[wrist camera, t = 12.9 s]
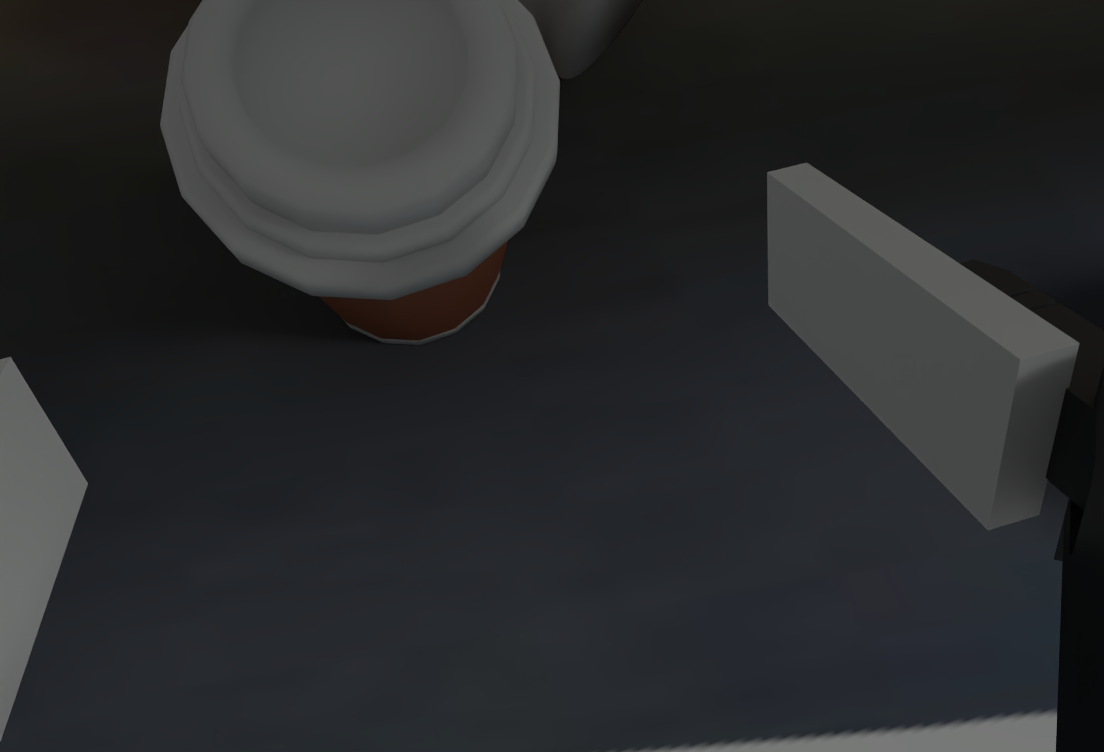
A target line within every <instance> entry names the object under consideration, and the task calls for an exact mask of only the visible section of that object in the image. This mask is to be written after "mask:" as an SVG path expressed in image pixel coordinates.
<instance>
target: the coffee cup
mask: <svg viewBox="0 0 1104 752" xmlns="http://www.w3.org/2000/svg"><path fill="white" fill-rule="evenodd" d="M559 95H560V80H559V78H558V75H557V73H556V71H555V68H554V66H553V63H552V61H551V58H550V56H549V53H548V51H547V48H546V46H545V43H544V41H543V38H542V36H541V33H540V31H539V28H538V26H537V23H536V21H535V18H534V17H533V15H532V14H531V13H530V12H529V11H528V10H527V9H526V8H525V7H524V6H523V5H522V4H521V3H520V2H519V1H518V0H202V1H201V3H200V5H199V6H198V8H197V9H196V11H195V12H194V14H193V16H192V17H191V19H190V20H189V24H188V26H187V27H186V29H185V30H184V32H183V33H182V35H181V37H180V38H179V40H178V41H177V43H176V44H175V46H174V48H173V49H172V51H171V54H170V61H169V68H168V74H167V81H166V88H165V95H164V102H163V109H162V115H161V122H160V127H161V131H162V134H163V137H164V140H165V144H166V147H167V150H168V153H169V157H170V160H171V163H172V167H173V170H174V173H175V176H176V180H177V183H178V186H179V189H180V193H181V196H182V197H183V198H184V200H185V201H186V202H187V203H188V204H189V205H190V206H191V208H192V209H193V210H194V211H195V212H196V213H197V214H198V215H199V216H200V218H201V219H202V220H203V221H204V222H205V223H206V224H207V225H208V227H209V228H210V229H211V230H212V231H213V232H214V233H215V234H216V235H217V237H218V238H219V239H220V240H221V241H222V242H223V243H224V244H225V246H226V247H227V248H228V249H229V250H230V251H231V252H232V253H233V254H234V256H235V257H236V258H237V259H238V260H239V261H240V262H241V263H242V264H245V265H247V266H249V267H251V268H253V269H255V270H257V271H260V272H262V273H264V274H266V275H268V276H270V277H272V278H275V279H277V280H279V281H281V282H283V283H285V284H287V285H290V286H292V287H294V288H296V289H298V290H300V291H302V292H305V293H307V294H309V295H311V296H318V297H319V298H320V299H322V300H323V301H324V302H325V303H326V304H327V305H328V306H329V307H330V308H331V309H332V310H334V311H335V312H336V313H337V314H338V315H339V316H340V317H341V318H342V319H343V320H344V322H345V323H346V324H347V325H348V326H349V327H350V328H352V329H354V330H356V331H358V332H360V333H363V334H365V335H367V336H369V337H371V338H373V339H375V340H378V341H380V342H382V343H388V344H407V345H423V344H426V343H429V342H432V341H435V340H438V339H441V338H444V337H447V336H450V335H453V334H456V333H457V332H459V331H460V330H461V329H462V328H463V327H464V326H466V325H467V324H468V323H469V322H470V321H471V320H473V319H474V318H475V317H476V316H477V315H478V314H480V313H481V312H482V311H483V310H484V309H485V307H486V305H487V303H488V301H489V299H490V297H491V295H492V293H493V291H494V289H495V287H496V285H497V283H498V281H499V279H500V270H501V266H502V262H503V258H504V255H505V251H506V247H507V243H508V240H509V239H510V238H511V237H513V236H514V235H515V234H516V233H517V232H519V231H520V230H521V229H522V228H523V227H524V225H525V223H526V221H527V219H528V217H529V215H530V213H531V211H532V209H533V207H534V205H535V203H536V201H537V199H538V197H539V195H540V193H541V191H542V189H543V188H544V186H545V184H546V182H547V180H548V178H549V176H550V174H551V172H552V170H553V168H554V166H555V163H556V156H557V144H558V119H559Z"/></svg>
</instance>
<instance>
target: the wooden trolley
mask: <svg viewBox="0 0 1104 752" xmlns="http://www.w3.org/2000/svg"><path fill="white" fill-rule="evenodd" d="M518 1H519V2H520V3H521V4H522V5H523V6H524V7H525V8H526V9H527V10H528V11H529V12H530V13H531V14H532V15H533V17H534V18H535V21H536V23H537V26H538V28H539V31H540V33H541V36H542V38H543V41H544V43H545V46H546V48H547V51H548V53H549V56H550V58H551V61H552V63H553V66H554V68H555V71H556V73H557V75H558V76H559V77H561V78H563V79H571V78H574V77H576V76H578V75H579V74H581V73H582V72H583V71H585V70H586V69H587V68H588V67H590V66H591V65H592V64H593V63H594V62H595V61H596V60H597V59H598V58H599V57H600V56H601V55H602V54H603V53H604V51H605V50H606V49H607V48H608V47H609V45H610V44H611V43H612V42H613V41H614V39H615V38H616V37H617V36H618V34H619V33H620V32H621V30H622V29H623V28H624V26H625V25H626V23H627V22H628V21H629V19H630V18H631V17H632V15H633V14H634V12H635V11H636V9H637V8H638V6H639V5H640V3H641V2H642V0H518Z"/></svg>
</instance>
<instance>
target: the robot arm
mask: <svg viewBox="0 0 1104 752" xmlns="http://www.w3.org/2000/svg"><path fill="white" fill-rule="evenodd" d="M767 219H768V305H769V306H770V307H771V308H772V309H773V310H774V311H775V312H776V313H777V314H778V315H779V316H780V317H781V318H782V319H783V320H784V322H785V323H786V324H787V325H788V326H789V327H790V328H791V329H792V330H793V331H794V332H795V333H796V334H797V335H798V336H799V337H800V338H801V339H802V340H803V341H804V342H805V343H806V344H807V345H808V346H809V347H810V348H811V349H812V350H813V351H814V352H815V353H816V354H817V355H818V356H819V357H820V358H821V359H822V361H823V362H824V363H825V364H826V365H827V366H828V367H829V368H830V369H831V370H832V371H833V372H834V373H835V374H836V375H837V376H838V377H839V378H840V379H841V380H842V381H843V382H844V383H845V384H846V385H847V386H848V387H849V388H850V389H851V390H852V391H853V392H854V393H855V394H856V395H857V396H858V397H859V399H860V400H861V401H862V402H863V403H864V404H865V405H866V406H867V407H868V408H869V409H870V410H871V411H872V412H873V413H874V414H875V415H876V416H877V417H878V418H879V419H880V420H881V421H882V422H883V423H884V424H885V425H886V426H887V427H888V428H889V429H890V430H891V431H892V432H893V433H894V434H895V435H896V436H897V438H898V439H899V440H900V441H901V442H902V443H903V444H904V445H905V446H906V447H907V448H908V449H909V450H910V451H911V452H912V453H913V454H914V455H915V456H916V457H917V458H918V459H919V460H920V461H921V462H922V463H923V464H924V465H925V466H926V467H927V468H928V469H929V470H930V471H931V472H932V473H933V474H934V475H935V477H936V478H937V479H938V480H939V481H940V482H941V483H942V484H943V485H944V486H945V487H946V488H947V489H948V490H949V491H950V492H951V493H952V494H953V495H954V496H955V497H956V498H957V499H958V500H959V501H960V502H961V503H962V504H963V505H964V506H965V507H966V508H967V509H968V510H969V511H970V512H971V513H972V514H973V516H974V517H975V518H976V519H977V520H978V521H979V522H980V523H981V524H982V525H983V526H984V527H985V528H986V529H987V530H991V529H994V528H998V527H1001V526H1004V525H1008V524H1011V523H1014V522H1017V521H1021V520H1024V519H1027V518H1031V517H1034V516H1037V515H1040V511H1041V506H1042V502H1043V498H1044V494H1045V489H1046V485H1047V481H1048V480H1049V481H1050V482H1051V483H1052V484H1053V485H1055V486H1056V487H1057V488H1058V489H1059V490H1060V491H1061V492H1063V493H1064V494H1065V495H1066V496H1067V497H1068V498H1069V502H1068V506H1067V510H1066V514H1065V518H1064V521H1063V525H1062V529H1061V533H1060V537H1059V541H1058V545H1057V549H1056V553H1055V557H1054V559H1055V560H1060V561H1063V568H1062V596H1061V624H1060V652H1059V680H1058V708H1057V736H1056V752H1104V330H1102V329H1100V328H1099V327H1097V326H1096V325H1094V324H1092V323H1091V322H1089V321H1088V320H1086V319H1084V318H1083V317H1081V316H1080V315H1078V314H1076V313H1075V312H1073V311H1072V310H1070V309H1068V308H1067V307H1065V306H1064V305H1062V304H1060V303H1058V304H1055V300H1054V299H1053V298H1051V297H1049V296H1048V295H1046V294H1045V293H1043V292H1041V291H1040V290H1036V291H1035V290H1034V287H1033V286H1032V285H1030V284H1029V283H1027V282H1025V281H1024V280H1022V279H1021V278H1019V277H1017V276H1016V275H1014V274H1013V273H1011V272H1009V271H1007V270H1004V269H1001V268H998V267H995V266H991V265H988V264H985V263H982V262H979V261H976V260H971V261H967V262H964V263H960V264H959V263H958V262H956V261H955V260H953V259H952V258H950V257H949V256H947V255H946V254H944V253H943V252H941V251H940V250H938V249H937V248H935V247H934V246H932V245H931V244H929V243H928V242H926V241H924V240H923V239H921V238H920V237H918V236H917V235H915V234H914V233H912V232H911V231H909V230H908V229H906V228H905V227H903V226H902V225H900V224H899V223H897V222H896V221H894V220H893V219H891V218H890V217H888V216H887V215H885V214H884V213H882V212H881V211H879V210H878V209H876V208H875V207H873V206H872V205H870V204H869V203H867V202H866V201H864V200H862V199H861V198H859V197H858V196H856V195H855V194H853V193H852V192H850V191H849V190H847V189H846V188H844V187H843V186H841V185H840V184H838V183H837V182H835V181H834V180H832V179H831V178H829V177H828V176H826V175H825V174H823V173H822V172H820V171H819V170H817V169H816V168H814V167H813V166H811V165H810V164H808V163H803V164H799V165H795V166H791V167H787V168H783V169H778V170H774V171H770V172H767ZM87 485H88V483H87V481H86V480H85V478H84V476H83V475H82V473H81V471H80V470H79V468H78V467H77V465H76V463H75V462H74V460H73V458H72V457H71V455H70V453H69V452H68V450H67V449H66V447H65V445H64V444H63V442H62V440H61V439H60V437H59V435H58V434H57V432H56V430H55V429H54V427H53V426H52V424H51V422H50V421H49V419H48V417H47V416H46V414H45V412H44V411H43V409H42V408H41V406H40V404H39V403H38V401H37V399H36V398H35V396H34V394H33V393H32V391H31V390H30V388H29V386H28V385H27V383H26V381H25V380H24V378H23V376H22V375H21V373H20V371H19V370H18V368H17V367H16V365H15V363H14V362H13V360H12V358H11V357H8V358H4V359H0V741H1V738H2V735H3V732H4V729H5V726H6V724H7V721H8V718H9V715H10V712H11V709H12V706H13V703H14V700H15V697H16V694H17V691H18V688H19V685H20V682H21V679H22V676H23V673H24V671H25V668H26V665H27V662H28V659H29V656H30V653H31V650H32V647H33V644H34V641H35V638H36V635H37V632H38V629H39V626H40V623H41V620H42V617H43V615H44V612H45V609H46V606H47V603H48V600H49V597H50V594H51V591H52V588H53V585H54V582H55V579H56V576H57V573H58V570H59V567H60V564H61V562H62V559H63V556H64V553H65V550H66V547H67V544H68V541H69V538H70V535H71V532H72V529H73V526H74V523H75V520H76V517H77V514H78V511H79V508H80V506H81V503H82V500H83V497H84V494H85V491H86V488H87Z"/></svg>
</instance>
